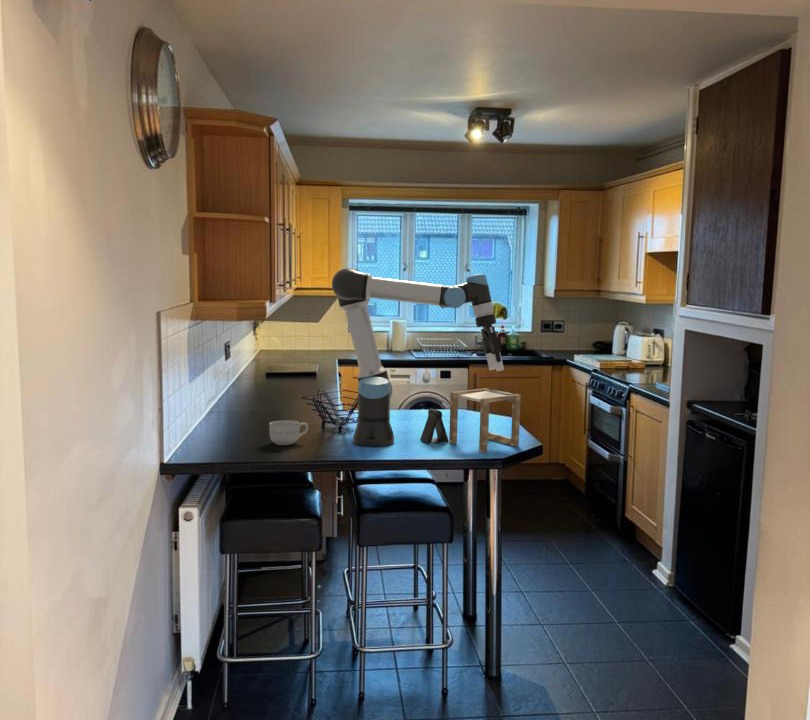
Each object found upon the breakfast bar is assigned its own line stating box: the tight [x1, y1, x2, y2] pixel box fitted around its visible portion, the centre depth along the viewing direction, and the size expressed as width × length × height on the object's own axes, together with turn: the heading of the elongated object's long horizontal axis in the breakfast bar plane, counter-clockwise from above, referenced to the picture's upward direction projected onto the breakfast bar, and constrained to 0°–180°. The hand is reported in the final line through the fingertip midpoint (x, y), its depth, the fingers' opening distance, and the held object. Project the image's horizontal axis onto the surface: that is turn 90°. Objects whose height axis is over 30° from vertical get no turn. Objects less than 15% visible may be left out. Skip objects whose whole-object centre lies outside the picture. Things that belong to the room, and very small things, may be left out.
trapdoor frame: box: [448, 387, 522, 454], centre depth 264 cm, size 18×18×19 cm
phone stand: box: [419, 407, 449, 445], centre depth 268 cm, size 9×6×12 cm, turn 113°
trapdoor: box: [459, 389, 514, 403], centre depth 264 cm, size 13×16×3 cm
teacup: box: [268, 420, 309, 446], centre depth 260 cm, size 14×11×8 cm
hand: (496, 370), depth 272 cm, fingers open, 13 cm apart
